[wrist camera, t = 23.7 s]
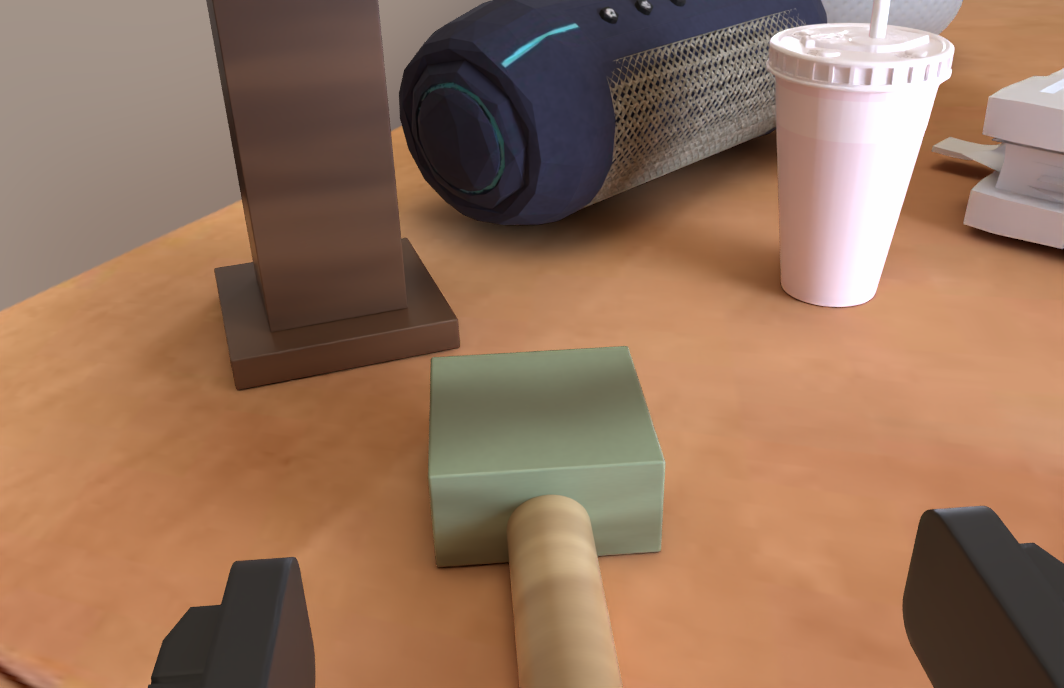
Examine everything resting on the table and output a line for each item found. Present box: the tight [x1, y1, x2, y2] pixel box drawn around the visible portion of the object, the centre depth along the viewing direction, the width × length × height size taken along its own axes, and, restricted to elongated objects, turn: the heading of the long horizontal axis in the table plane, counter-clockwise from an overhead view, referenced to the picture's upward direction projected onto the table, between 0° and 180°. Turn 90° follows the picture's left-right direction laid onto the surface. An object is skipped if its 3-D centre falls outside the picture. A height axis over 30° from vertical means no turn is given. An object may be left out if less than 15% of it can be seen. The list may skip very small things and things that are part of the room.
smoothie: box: [766, 0, 954, 307], centre depth 37 cm, size 6×6×14 cm
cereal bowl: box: [821, 0, 963, 35], centre depth 71 cm, size 17×17×7 cm
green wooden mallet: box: [428, 346, 665, 688], centre depth 24 cm, size 16×6×3 cm, turn 4°
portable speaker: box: [399, 0, 827, 225], centre depth 50 cm, size 25×10×10 cm, turn 135°
